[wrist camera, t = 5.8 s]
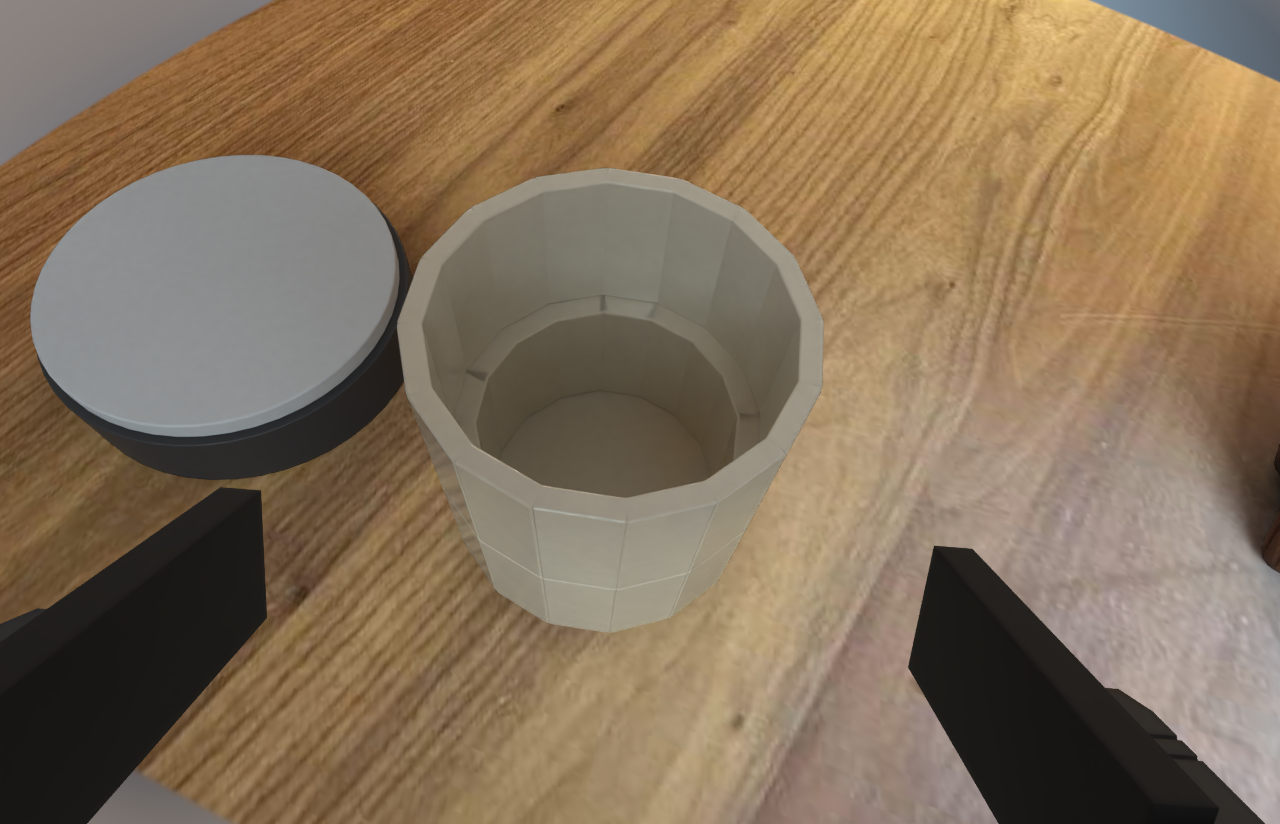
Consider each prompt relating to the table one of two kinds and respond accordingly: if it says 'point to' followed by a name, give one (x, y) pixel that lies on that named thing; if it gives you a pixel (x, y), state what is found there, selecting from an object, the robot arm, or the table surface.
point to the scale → (225, 316)
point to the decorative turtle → (1273, 534)
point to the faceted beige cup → (608, 387)
